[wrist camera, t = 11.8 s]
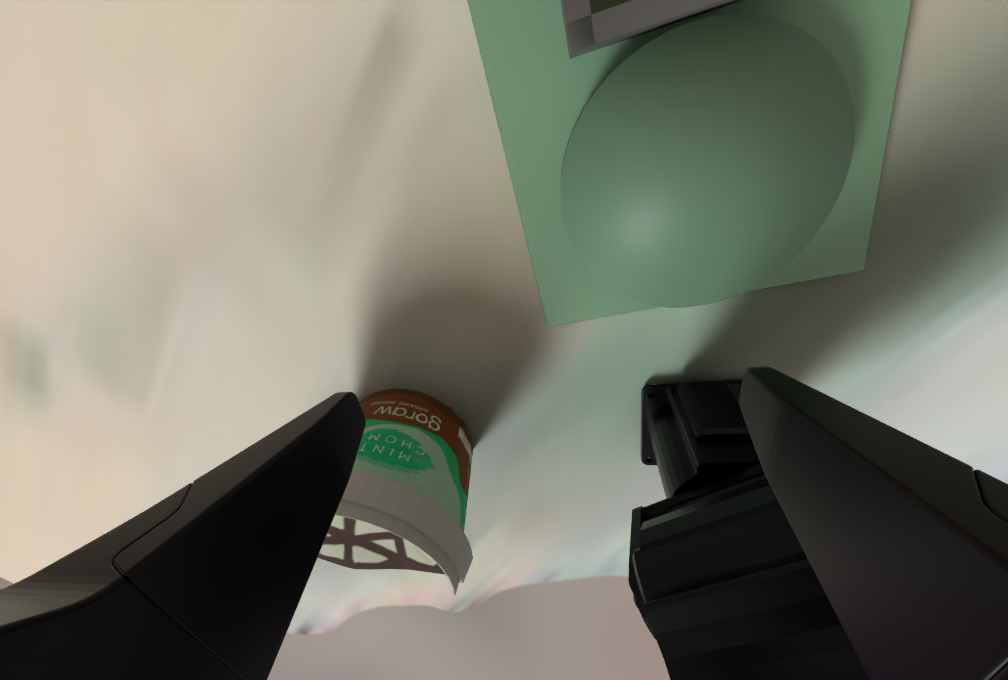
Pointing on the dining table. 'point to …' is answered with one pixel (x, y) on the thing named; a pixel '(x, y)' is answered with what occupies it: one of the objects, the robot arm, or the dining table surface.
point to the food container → (406, 490)
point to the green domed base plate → (690, 142)
